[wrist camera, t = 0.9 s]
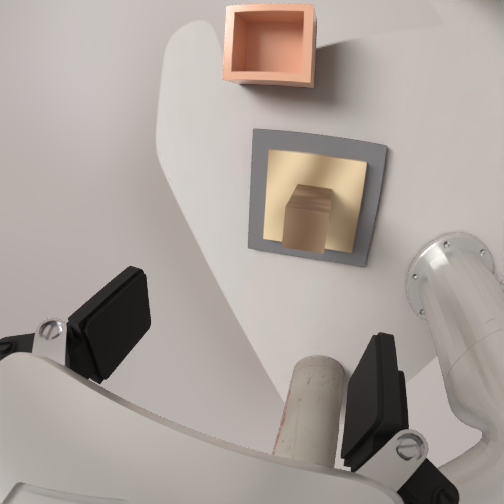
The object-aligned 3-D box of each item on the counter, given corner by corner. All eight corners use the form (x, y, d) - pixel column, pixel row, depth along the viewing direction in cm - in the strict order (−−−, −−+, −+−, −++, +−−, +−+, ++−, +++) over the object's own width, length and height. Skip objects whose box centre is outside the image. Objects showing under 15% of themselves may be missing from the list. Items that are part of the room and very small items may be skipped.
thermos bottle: (291, 383, 46) (245, 540, 22) (296, 351, 42) (244, 534, 18) (337, 390, 44) (310, 550, 20) (348, 359, 40) (325, 545, 16)
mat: (385, 145, 27) (386, 146, 27) (363, 263, 34) (364, 267, 33) (254, 128, 30) (253, 129, 30) (249, 245, 37) (247, 248, 36)
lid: (365, 161, 28) (377, 179, 20) (351, 249, 32) (353, 293, 25) (270, 148, 30) (246, 161, 22) (265, 235, 35) (242, 274, 27)
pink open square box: (316, 20, 23) (313, 4, 19) (313, 88, 27) (310, 82, 22) (242, 19, 25) (226, 5, 20) (239, 84, 28) (222, 79, 24)
